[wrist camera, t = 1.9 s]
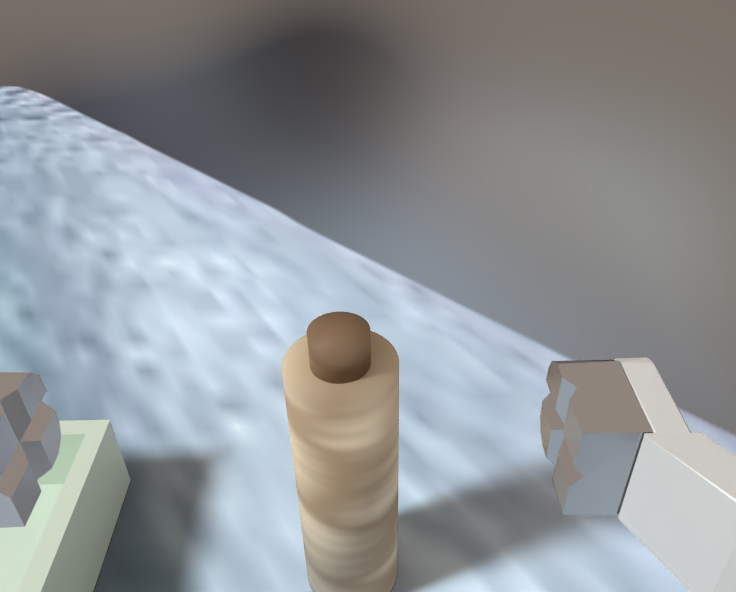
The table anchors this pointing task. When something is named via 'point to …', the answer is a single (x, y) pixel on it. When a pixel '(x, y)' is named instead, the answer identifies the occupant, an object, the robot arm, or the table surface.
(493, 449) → the table surface
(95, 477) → the bin
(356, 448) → the pepper mill
